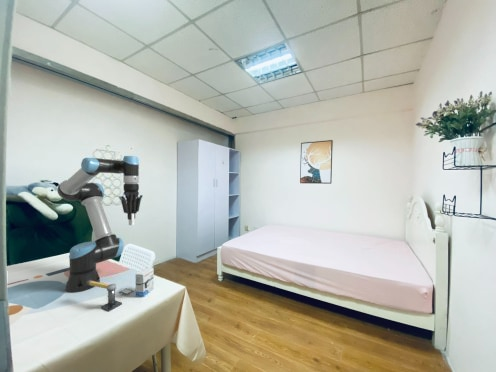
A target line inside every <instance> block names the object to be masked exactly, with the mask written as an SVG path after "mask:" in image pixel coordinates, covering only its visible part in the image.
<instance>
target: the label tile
mask: <svg viewBox="0 0 496 372" xmlns="http://www.w3.org/2000/svg"><path fill="white" fill-rule="evenodd" d="M134 292H135V291H134V290H132V289H128V288H125V289H122V290H121V291H119V292H118V293H119V294H121V295H124V296H126V297H127V296H128V295H130V294H131V295H132V293H134Z"/></svg>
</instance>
